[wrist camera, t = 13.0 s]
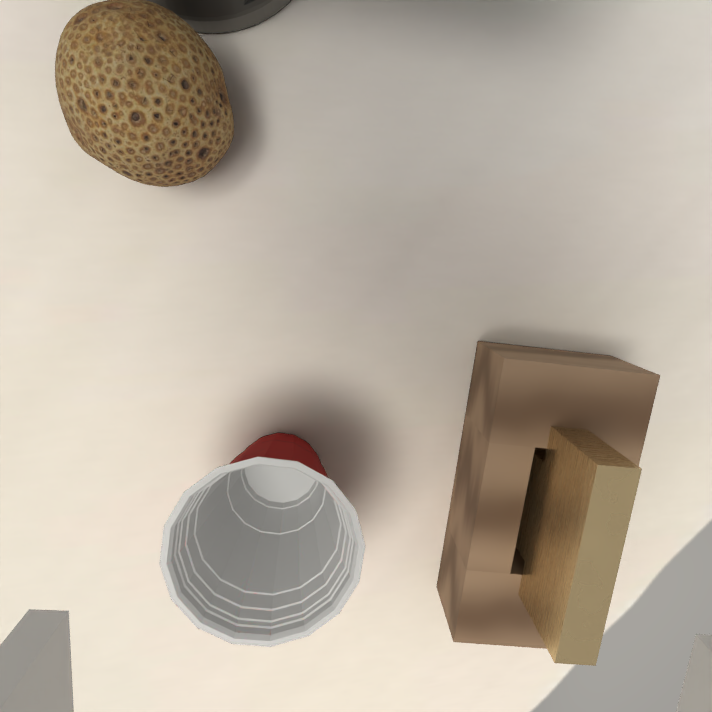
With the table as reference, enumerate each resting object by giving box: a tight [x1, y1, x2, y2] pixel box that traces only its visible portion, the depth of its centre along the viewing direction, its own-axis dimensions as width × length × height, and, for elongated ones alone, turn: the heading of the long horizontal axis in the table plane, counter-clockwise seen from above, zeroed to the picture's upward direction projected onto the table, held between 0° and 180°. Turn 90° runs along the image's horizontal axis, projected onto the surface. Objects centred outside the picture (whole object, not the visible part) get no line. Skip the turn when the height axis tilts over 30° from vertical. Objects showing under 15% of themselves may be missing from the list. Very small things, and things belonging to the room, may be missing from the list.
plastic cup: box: [160, 433, 365, 647], centre depth 34 cm, size 11×11×12 cm
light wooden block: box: [516, 426, 642, 665], centre depth 34 cm, size 12×2×11 cm, turn 174°
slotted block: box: [437, 341, 660, 649], centre depth 38 cm, size 20×10×6 cm, turn 173°
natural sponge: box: [55, 0, 234, 187], centre depth 30 cm, size 9×9×10 cm
